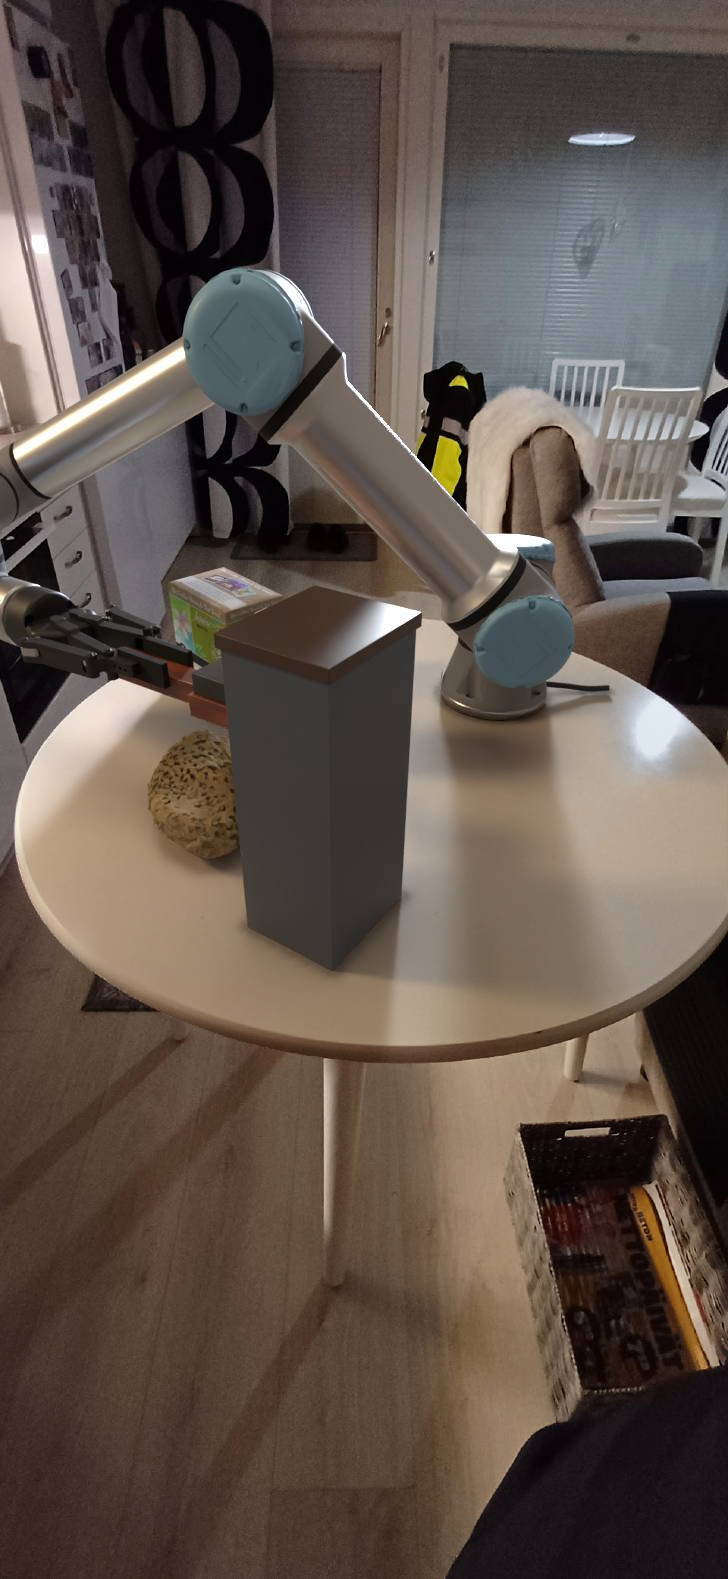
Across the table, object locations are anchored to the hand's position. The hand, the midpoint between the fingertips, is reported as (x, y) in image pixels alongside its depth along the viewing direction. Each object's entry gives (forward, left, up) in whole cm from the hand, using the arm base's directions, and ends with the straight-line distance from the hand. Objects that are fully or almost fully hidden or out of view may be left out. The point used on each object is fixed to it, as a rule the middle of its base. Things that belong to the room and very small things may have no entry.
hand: (178, 669), depth 80 cm
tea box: (-3, -33, -18) cm, 38 cm away
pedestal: (-14, +18, -18) cm, 29 cm away
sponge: (-1, +1, -18) cm, 18 cm away
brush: (-1, +1, -3) cm, 3 cm away
